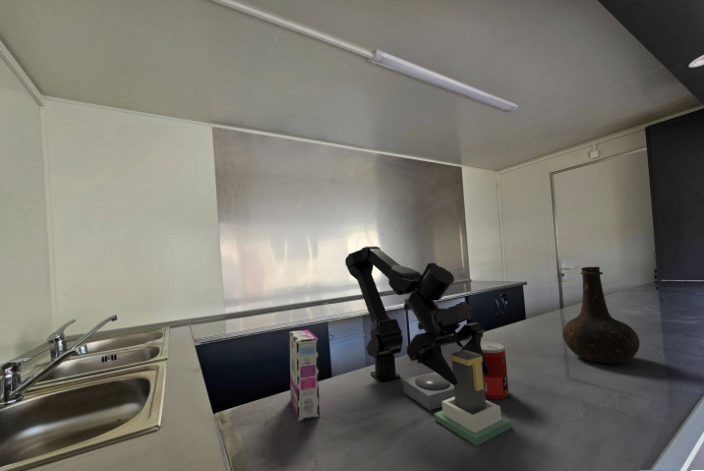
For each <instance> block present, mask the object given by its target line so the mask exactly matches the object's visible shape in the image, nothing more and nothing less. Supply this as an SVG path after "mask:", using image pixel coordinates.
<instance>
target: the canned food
mask: <svg viewBox="0 0 704 471" xmlns="http://www.w3.org/2000/svg"><path fill="white" fill-rule="evenodd" d="M481 348H482V352H483V355H484V357H485V360H486V363H487V366H488V369H489V373H488V374H484V373H483V377H484V389H485V397H486V398H485V399H489V398H490V399H491V400H502V399H505V398H506V397H508V396H509V381H508V371H507V370H508V368H507V358H506V350H505V346H504V345H503V344H501V343H497V342H494V341H485V340H484V341H483V340H481Z"/></svg>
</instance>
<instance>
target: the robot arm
mask: <svg viewBox="0 0 704 471" xmlns="http://www.w3.org/2000/svg"><path fill="white" fill-rule="evenodd" d="M344 262H345V263H344V264H345V266H346V268H347V271H348V273H349V275H351V277H354V279H356V280H357V284H358V286H359V289H360V293H361V294H362V297H363V300H364V303H365V305H366V309H367V312H368V314H369V318H370V320H371V327H370V331H369V335H370V337H371V339H370V340H369V342H368V343H367V345H366V346H365V347H366V348H365V349H366V352H367V355H368V356H371V357H373V358H374V371H371V372H370V375H371V376H372V377H374V378H375V379H376V380H378V381H379V382H382V383H383V382H386V381H391V380H395V379H400V378H401V376H402V375H401V374H399V373H397V371H396V359H395V358H396V357H395V356H396V355H395V354H401V352H402V348H403V341H404V336H403V334H402V333H403V331H402V329H401V327H400V325H399V322H398V319H396V318H391V317H389V315H388V313H387V310H386V308H385V305H384V303H383V300H382V298H381V296H380V292H379V289H378V287H377V284H376V282H375V279H374V276H373V270H374V267H375V268H377V270H378V271H379V272H381V274H383V275H384V276H385V277H386V278H387V279H388V285H389V287H390V288H391V289H392V291H394V293H395V295H397V296H404V295H409V297H408V298H405V299H404V304H403V310H404V311H410V310H411V311H412V313H413V315H414V316H415V318H416V319H417V321H418V322H419V324H418V325H417V328H418V329H419V330H420V331H422V330H424V331H425V332H422V333H417V334H415V335H414V337H413V338H412V340H411V341H410V342H409V344H407V346H406V354H407V356H408V358H409V359H410V361H411V362H415V361H416V362H417V364H422V365H424V366H425V367H427V368H428V369H430V370H432V371H433V372H436V373H438V374H439V375H440V376H442V377H443V378H444V379H446V380H447V381H448V382H450V383H451V384H453V385H456V384H457V383H458V381H457V379H456V377H455V375H454V373H453V369H451V366H449V363H448V362H447V360H446V359H445V357H444V356H443V351H442V347H443V346H446V345H447V346H448V345H452V344H455V343H456V345H457V347H460V348H461V349H460V351H463V350H467V351H471V352H474V353H477V354H481V355H482V361H483V362H482V366H483V373H484V374H488V373H489V369H488V366H487V363H486V360H485V357H484V355H483V352H482V348H481V341H482V338H483V337H484V333H485V332H486V331H485V329H484V327H483V326H482V325H481V323H479V322H470V323H465V324H464V325H462V327H461V325H460V323H463V322H466V321H471V320H472V318H471V317H472V315H473V313H474V312H473V308H472V307H471V305H470V304H468V303H467V302H466V301H461V302H458V303H456V304H455V305H452V306H450V307H447V308H445V307H443V308H440V307H439V306H438V304H437V302H436V301H440V300H442V298H443V297H444V296H445V294H446V293H447V291H448V290H449V289H450V287H452V285H453V283H454V281H455V277H454V275H453V273H452V272H451V271H449V270H447V269H446V268H445V267H443V266H442V267H441V266H439V265H438V264H437V263H436V262H429V263H427V265H426V267H425V270H424V271H423V273H422V274H421V273H420V272H419V271H417V270H415V269H413V268H411V267H408V266H403V265H401V264H400V263H398V262H397V261H395V259H393V258H392V257H390V256H389V255H388V254H387V253H385V252H384V251H383V250H381V247H379V246H378V245H377V246H376V245H373V246H372V245H370V246H369V245H367V246H366V245H365V246H364V247H362V248H361V249H359V250H356V251H353V252H350V253H349V254H348V255H347V256H346V257H345V261H344ZM460 327H461V328H460ZM458 329H459V330H458ZM456 330H458V331H456Z"/></svg>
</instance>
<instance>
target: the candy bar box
mask: <svg viewBox="0 0 704 471" xmlns="http://www.w3.org/2000/svg"><path fill="white" fill-rule="evenodd" d="M289 366H290V368H289V371H290V372H289V374H290V375H289V376H290V377H289V378H290V384H289V385H290V386H289V387H290V402H291V405H292V407H293V411H294V413H295V416H296V419H297V421H298V422H304V421H308V420H312V419H317V418H319V417H320V414H321V412H320V388H319V387H320V384H319V383H320V382H319V381H320V380H319V378H320V377H319V372H320V371H319V370H320V369H319V339H318V337H316V336H315V334H313V333H312V332H311V331H310V330H309V329H301V330H293V331H289Z"/></svg>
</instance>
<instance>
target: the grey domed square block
mask: <svg viewBox="0 0 704 471" xmlns="http://www.w3.org/2000/svg"><path fill="white" fill-rule="evenodd" d="M402 383H403V384H402V386H403V393H404V394H405V395H407V396H408V397H410V399H411V398H412V399H413V400H414V401H416V402H417V403H418V404H420V405H421V406H422V407H424V408H425V409H427V410H428V411H431V410H435V409H438V408H442V401H444V400H447V399H450V398H452V397H455V394H454V385H453V384H451V383H450V382H448V381H447V380H446V379H444V378H443V377H442V376H440V375H439V374H438V373H436V372H435V371H433V372H429V373H425V374H421V375H417V376H412V377H408V378H405V379H404V378H403V379H402Z"/></svg>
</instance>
